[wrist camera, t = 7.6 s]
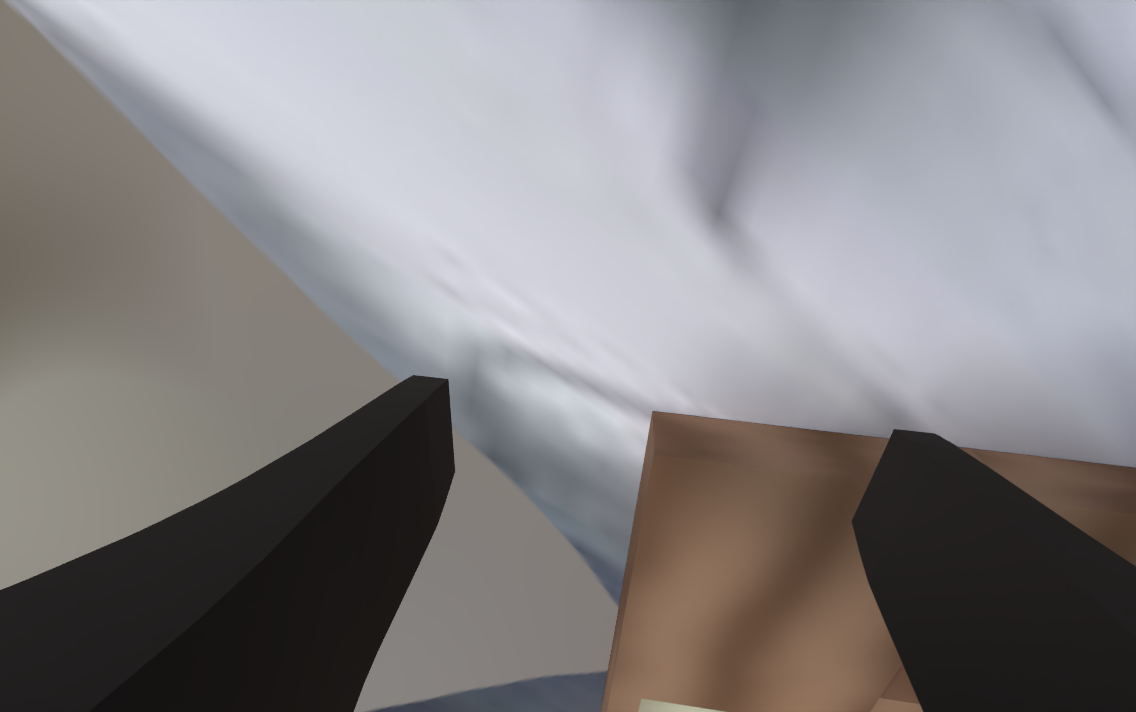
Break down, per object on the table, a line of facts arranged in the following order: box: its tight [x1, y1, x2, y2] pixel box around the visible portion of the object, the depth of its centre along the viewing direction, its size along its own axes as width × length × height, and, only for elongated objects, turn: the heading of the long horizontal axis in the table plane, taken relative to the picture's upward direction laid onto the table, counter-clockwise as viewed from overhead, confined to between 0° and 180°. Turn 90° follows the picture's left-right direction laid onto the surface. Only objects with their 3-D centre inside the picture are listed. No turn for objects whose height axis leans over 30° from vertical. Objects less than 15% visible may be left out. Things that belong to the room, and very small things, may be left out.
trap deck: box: [601, 411, 1136, 712], centre depth 24 cm, size 21×26×2 cm
